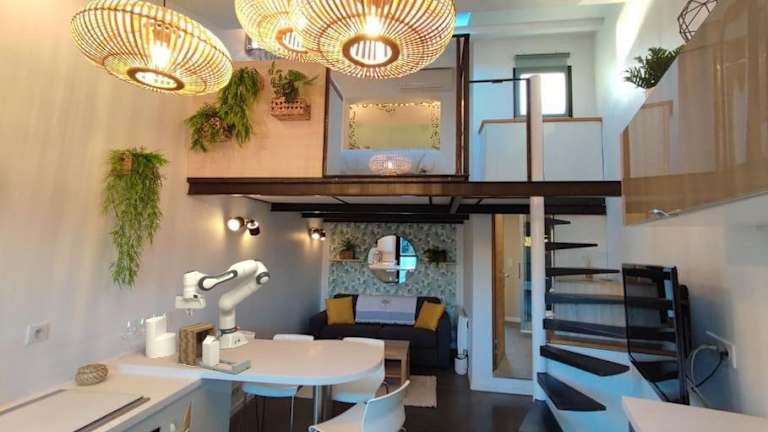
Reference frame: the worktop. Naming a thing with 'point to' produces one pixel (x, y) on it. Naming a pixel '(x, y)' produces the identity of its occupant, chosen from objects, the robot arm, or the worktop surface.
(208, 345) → the milk carton
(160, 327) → the white stepped block
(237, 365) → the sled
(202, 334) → the shelf cubby
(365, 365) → the worktop surface
